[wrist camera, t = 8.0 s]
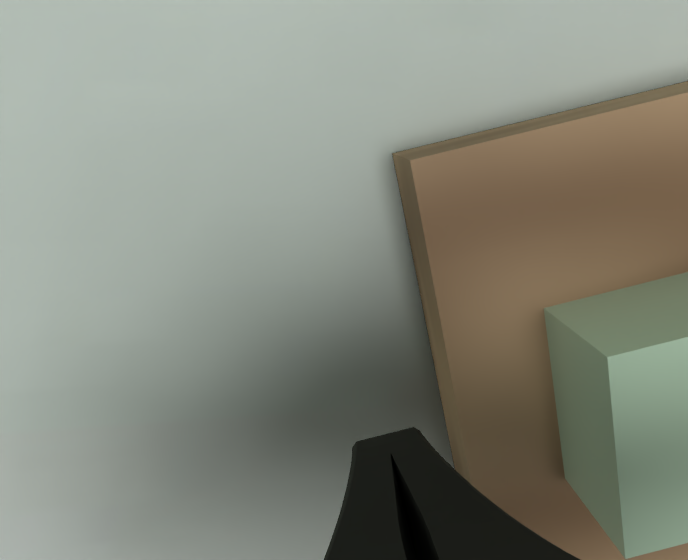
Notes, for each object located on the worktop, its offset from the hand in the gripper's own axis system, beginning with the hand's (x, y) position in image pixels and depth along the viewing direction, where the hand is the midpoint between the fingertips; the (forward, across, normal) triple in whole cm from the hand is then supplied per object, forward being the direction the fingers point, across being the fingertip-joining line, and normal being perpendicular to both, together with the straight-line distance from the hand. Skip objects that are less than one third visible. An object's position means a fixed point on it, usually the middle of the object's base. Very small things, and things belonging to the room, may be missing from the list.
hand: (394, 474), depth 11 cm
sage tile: (+1, -6, 0) cm, 6 cm away
